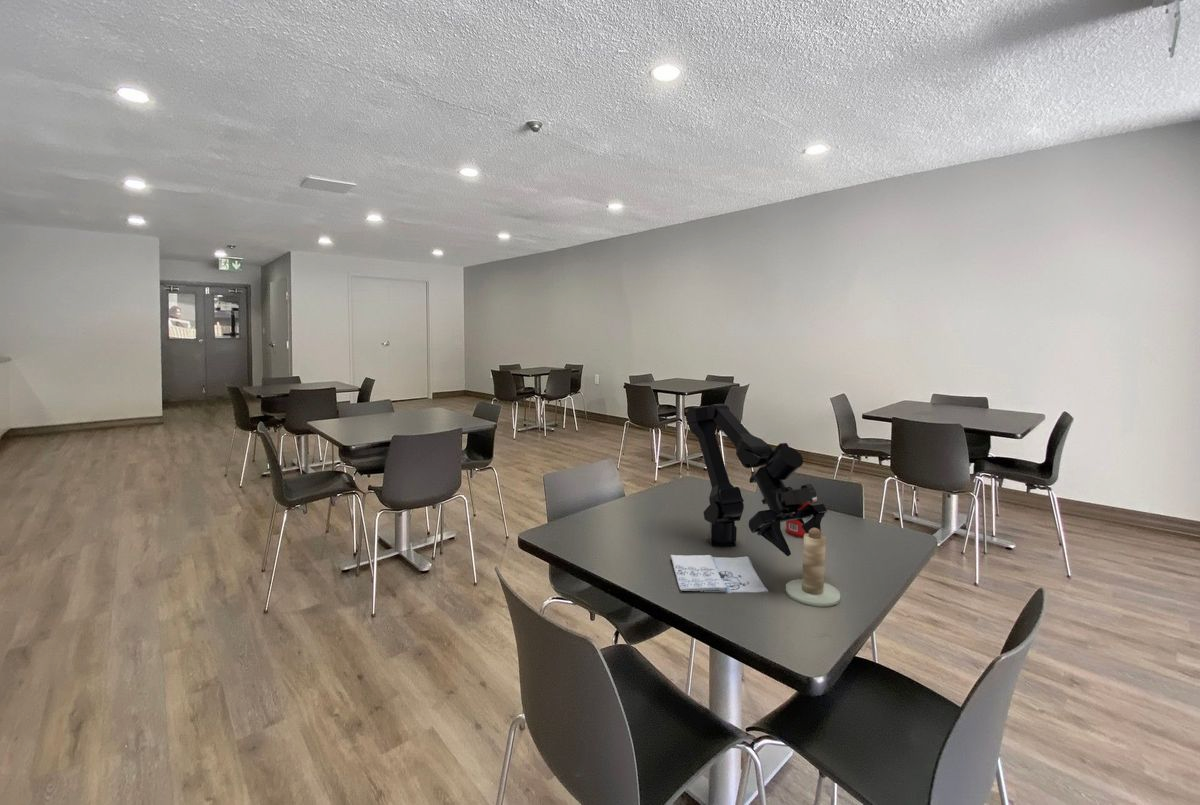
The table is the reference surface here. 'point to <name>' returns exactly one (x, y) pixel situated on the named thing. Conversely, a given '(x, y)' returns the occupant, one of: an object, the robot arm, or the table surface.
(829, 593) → the disc
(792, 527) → the canned food
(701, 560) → the open notebook
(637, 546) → the table surface
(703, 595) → the table surface
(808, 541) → the pepper mill
